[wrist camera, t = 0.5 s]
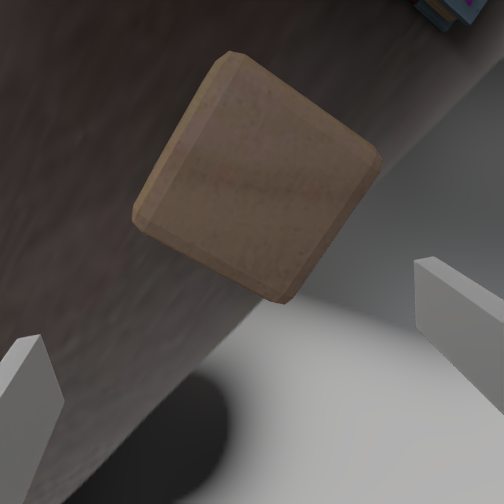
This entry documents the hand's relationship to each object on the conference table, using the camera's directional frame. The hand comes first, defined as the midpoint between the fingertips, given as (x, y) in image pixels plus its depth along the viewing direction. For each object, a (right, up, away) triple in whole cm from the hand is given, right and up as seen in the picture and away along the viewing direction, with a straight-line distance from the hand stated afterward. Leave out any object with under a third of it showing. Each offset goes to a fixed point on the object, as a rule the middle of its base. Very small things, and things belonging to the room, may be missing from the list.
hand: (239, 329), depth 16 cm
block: (-2, +12, +25) cm, 28 cm away
